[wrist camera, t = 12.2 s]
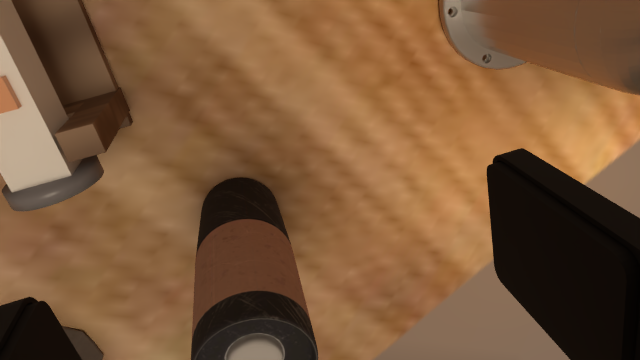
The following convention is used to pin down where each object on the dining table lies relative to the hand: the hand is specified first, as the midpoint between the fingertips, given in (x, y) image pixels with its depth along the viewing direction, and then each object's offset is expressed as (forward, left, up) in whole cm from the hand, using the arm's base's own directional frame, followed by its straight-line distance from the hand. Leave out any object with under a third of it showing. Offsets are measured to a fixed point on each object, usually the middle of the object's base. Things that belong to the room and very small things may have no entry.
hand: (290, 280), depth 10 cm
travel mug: (+4, +15, -34) cm, 37 cm away
